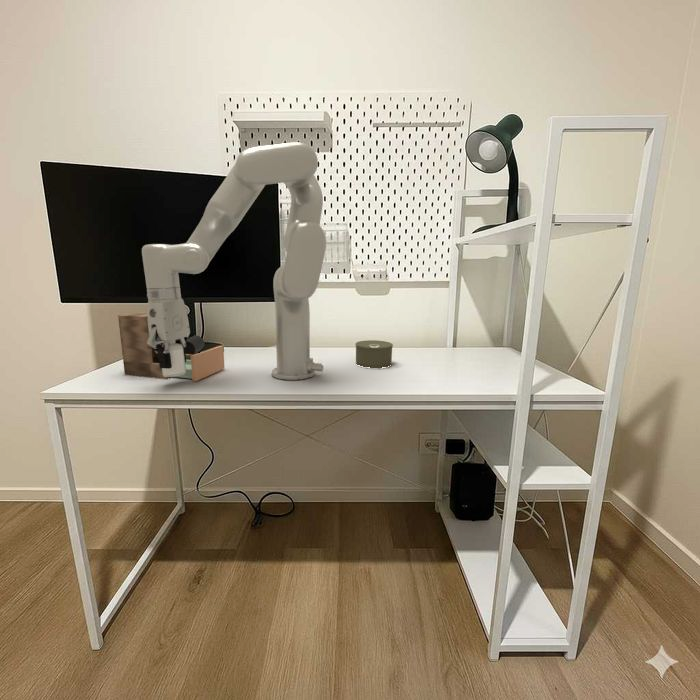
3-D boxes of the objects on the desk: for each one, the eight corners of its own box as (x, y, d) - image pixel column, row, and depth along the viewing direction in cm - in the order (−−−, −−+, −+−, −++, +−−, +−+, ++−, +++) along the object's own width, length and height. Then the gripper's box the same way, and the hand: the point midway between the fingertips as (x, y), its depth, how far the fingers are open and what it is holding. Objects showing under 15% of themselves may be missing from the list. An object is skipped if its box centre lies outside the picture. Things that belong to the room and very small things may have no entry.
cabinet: (196, 367, 120) (192, 312, 116) (167, 379, 108) (162, 317, 104) (157, 364, 123) (152, 310, 120) (124, 374, 111) (118, 315, 107)
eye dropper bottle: (181, 377, 100) (175, 331, 98) (160, 377, 100) (153, 331, 98) (188, 372, 105) (183, 328, 102) (168, 372, 105) (162, 328, 102)
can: (390, 360, 133) (391, 340, 131) (393, 369, 121) (394, 348, 120) (355, 359, 133) (355, 340, 131) (354, 369, 121) (355, 347, 120)
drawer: (224, 368, 118) (223, 345, 116) (195, 381, 105) (193, 356, 103) (184, 364, 121) (182, 342, 120) (151, 377, 108) (149, 352, 107)
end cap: (195, 360, 129) (194, 340, 127) (173, 360, 128) (172, 340, 127) (205, 353, 138) (204, 335, 137) (185, 353, 138) (183, 335, 137)
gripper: (152, 298, 89) (162, 375, 93) (198, 292, 105) (205, 357, 109) (125, 298, 91) (136, 373, 95) (174, 292, 107) (182, 356, 111)
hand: (173, 364), depth 102 cm, fingers closed on eye dropper bottle, 5 cm apart
